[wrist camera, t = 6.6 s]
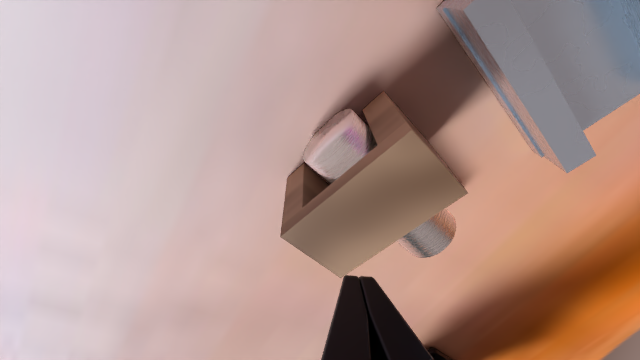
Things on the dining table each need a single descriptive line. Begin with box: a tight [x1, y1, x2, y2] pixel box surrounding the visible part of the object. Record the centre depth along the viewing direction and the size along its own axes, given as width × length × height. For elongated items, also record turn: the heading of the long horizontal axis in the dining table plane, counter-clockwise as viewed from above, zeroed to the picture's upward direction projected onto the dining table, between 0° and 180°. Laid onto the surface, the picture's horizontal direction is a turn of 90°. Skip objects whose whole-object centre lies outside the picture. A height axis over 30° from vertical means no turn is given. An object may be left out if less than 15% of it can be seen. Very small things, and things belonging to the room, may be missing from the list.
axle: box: [303, 109, 456, 258], centre depth 17 cm, size 9×3×3 cm, turn 44°
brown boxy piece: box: [280, 91, 468, 278], centre depth 15 cm, size 4×7×5 cm, turn 135°
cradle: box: [436, 0, 640, 173], centre depth 13 cm, size 10×7×3 cm
